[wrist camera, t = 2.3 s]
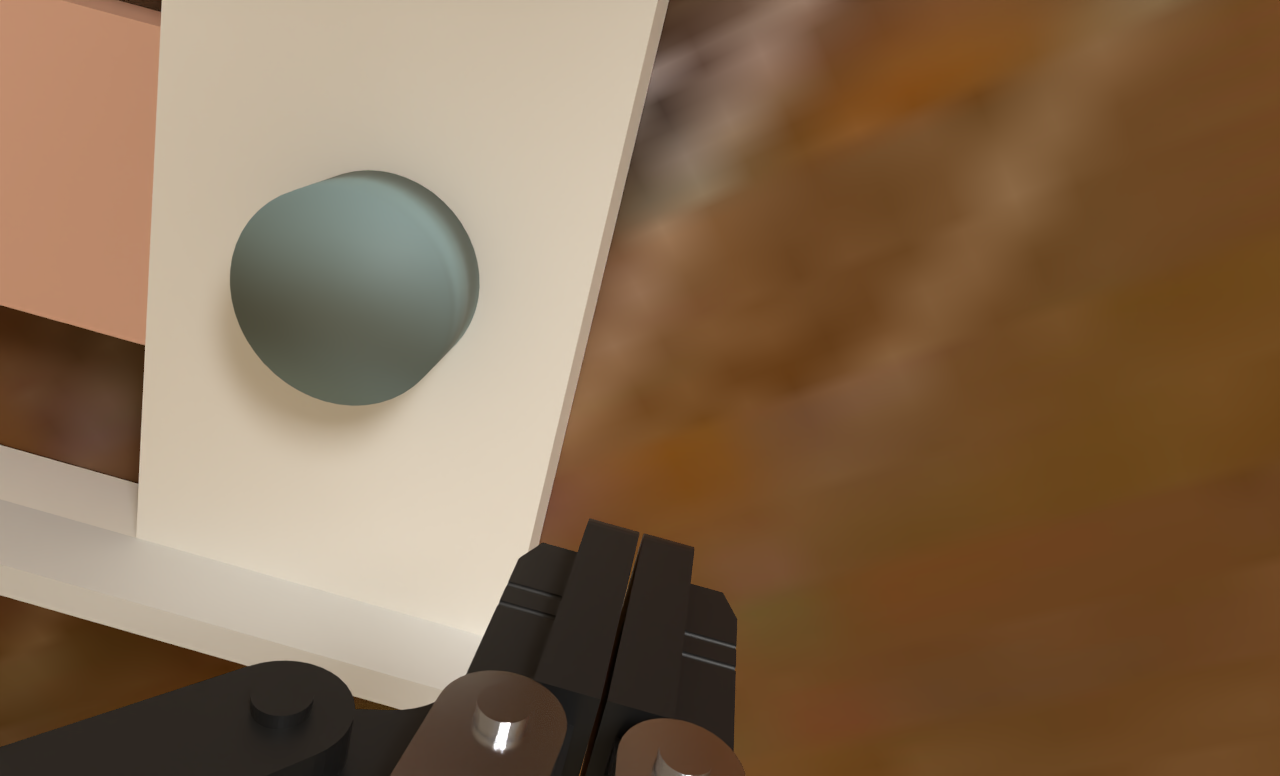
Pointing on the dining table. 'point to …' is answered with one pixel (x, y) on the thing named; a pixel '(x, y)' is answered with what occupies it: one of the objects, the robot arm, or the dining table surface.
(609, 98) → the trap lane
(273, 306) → the puck
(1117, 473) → the dining table surface
